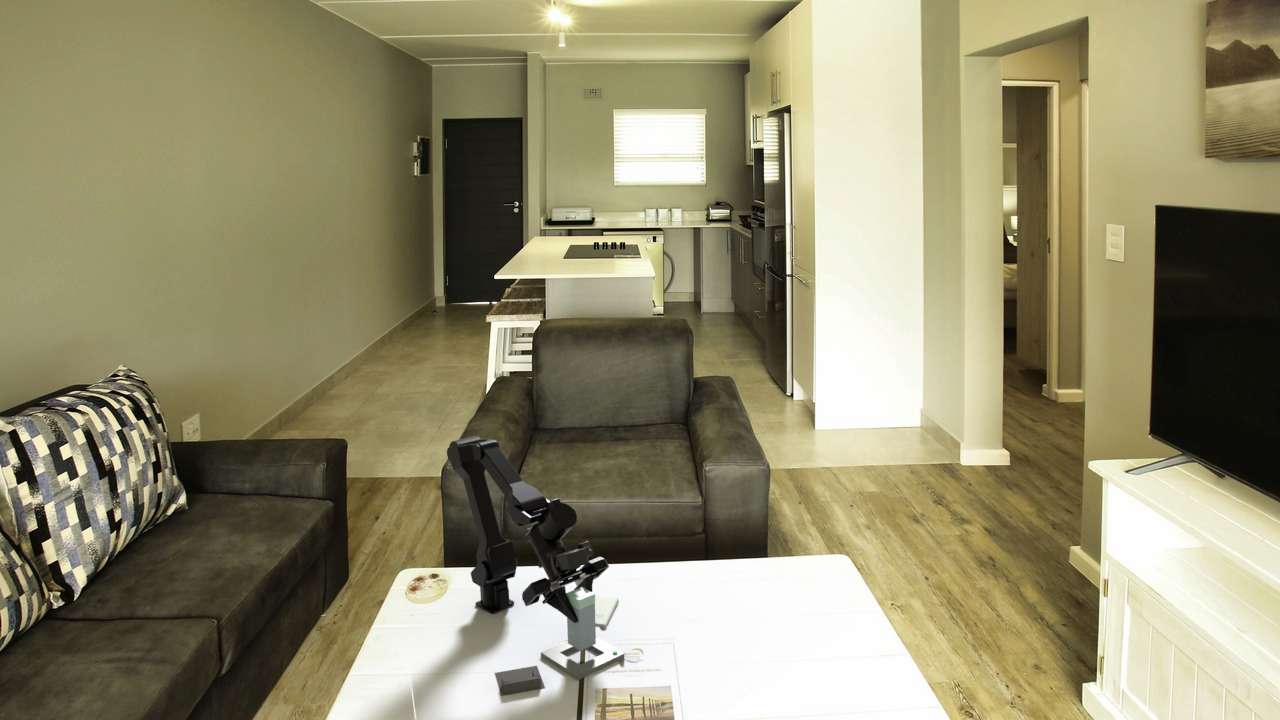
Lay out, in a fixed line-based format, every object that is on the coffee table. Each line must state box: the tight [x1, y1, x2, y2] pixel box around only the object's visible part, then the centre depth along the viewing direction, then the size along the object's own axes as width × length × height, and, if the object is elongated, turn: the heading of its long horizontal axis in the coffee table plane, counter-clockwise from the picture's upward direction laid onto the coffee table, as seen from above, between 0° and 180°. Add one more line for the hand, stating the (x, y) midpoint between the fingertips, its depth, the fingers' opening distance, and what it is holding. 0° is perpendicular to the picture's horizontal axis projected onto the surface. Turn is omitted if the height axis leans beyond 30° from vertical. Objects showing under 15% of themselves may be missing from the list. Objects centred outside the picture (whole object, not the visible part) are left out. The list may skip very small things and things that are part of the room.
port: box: [540, 636, 625, 681], centre depth 189 cm, size 12×12×2 cm
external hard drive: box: [595, 595, 620, 629], centre depth 208 cm, size 2×8×12 cm
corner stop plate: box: [494, 665, 546, 697], centre depth 181 cm, size 8×8×2 cm
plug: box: [566, 587, 597, 651], centre depth 187 cm, size 4×4×11 cm
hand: (585, 618), depth 186 cm, fingers closed on plug, 4 cm apart
